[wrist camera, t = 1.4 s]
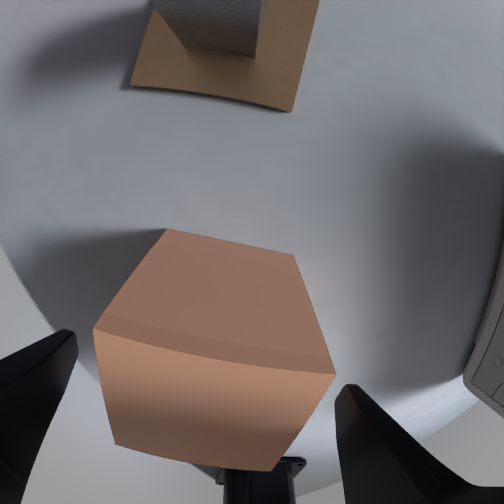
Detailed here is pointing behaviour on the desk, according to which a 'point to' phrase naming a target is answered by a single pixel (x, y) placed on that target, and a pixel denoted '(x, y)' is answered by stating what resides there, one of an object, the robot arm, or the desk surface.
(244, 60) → the post on square base
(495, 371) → the digital clock
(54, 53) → the desk surface
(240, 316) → the tan cardboard box
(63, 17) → the desk surface
